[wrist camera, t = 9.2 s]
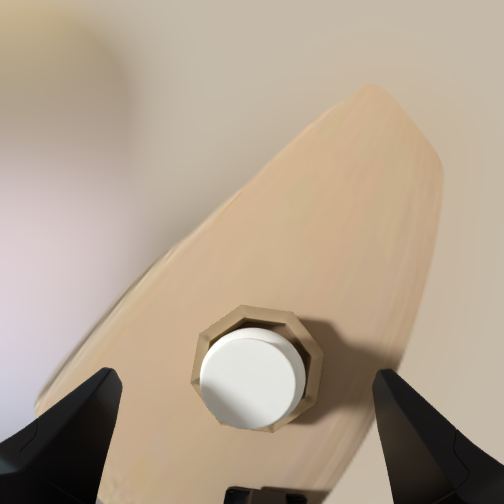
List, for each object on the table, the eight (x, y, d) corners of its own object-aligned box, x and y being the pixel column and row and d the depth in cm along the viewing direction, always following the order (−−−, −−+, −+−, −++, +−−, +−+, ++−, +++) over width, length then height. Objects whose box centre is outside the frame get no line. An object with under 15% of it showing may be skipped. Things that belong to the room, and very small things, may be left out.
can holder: (304, 425, 18) (309, 436, 15) (196, 408, 19) (185, 415, 16) (321, 321, 21) (329, 316, 18) (214, 306, 22) (205, 299, 19)
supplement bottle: (222, 335, 21) (183, 319, 12) (294, 334, 20) (312, 318, 11) (222, 404, 19) (183, 440, 10) (296, 404, 18) (313, 443, 9)
